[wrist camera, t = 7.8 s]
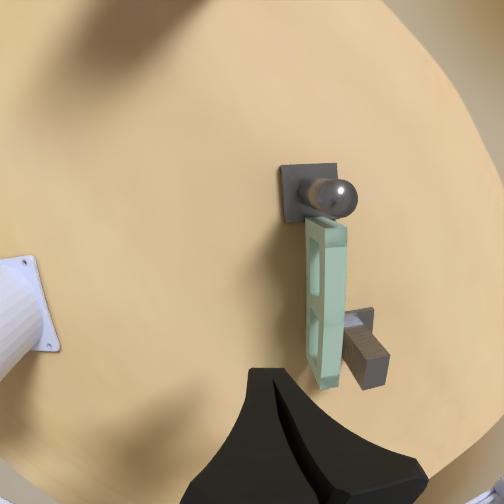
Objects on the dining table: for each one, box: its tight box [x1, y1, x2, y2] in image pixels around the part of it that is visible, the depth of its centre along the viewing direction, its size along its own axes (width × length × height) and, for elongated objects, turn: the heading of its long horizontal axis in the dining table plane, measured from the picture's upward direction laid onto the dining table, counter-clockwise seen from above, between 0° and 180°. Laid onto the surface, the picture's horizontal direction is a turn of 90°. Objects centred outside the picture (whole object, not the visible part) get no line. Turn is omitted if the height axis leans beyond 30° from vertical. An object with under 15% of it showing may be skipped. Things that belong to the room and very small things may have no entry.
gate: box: [305, 216, 347, 390], centre depth 18 cm, size 10×1×4 cm, turn 4°
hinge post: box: [280, 163, 358, 223], centre depth 16 cm, size 4×4×6 cm
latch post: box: [341, 307, 390, 390], centre depth 19 cm, size 3×4×6 cm
